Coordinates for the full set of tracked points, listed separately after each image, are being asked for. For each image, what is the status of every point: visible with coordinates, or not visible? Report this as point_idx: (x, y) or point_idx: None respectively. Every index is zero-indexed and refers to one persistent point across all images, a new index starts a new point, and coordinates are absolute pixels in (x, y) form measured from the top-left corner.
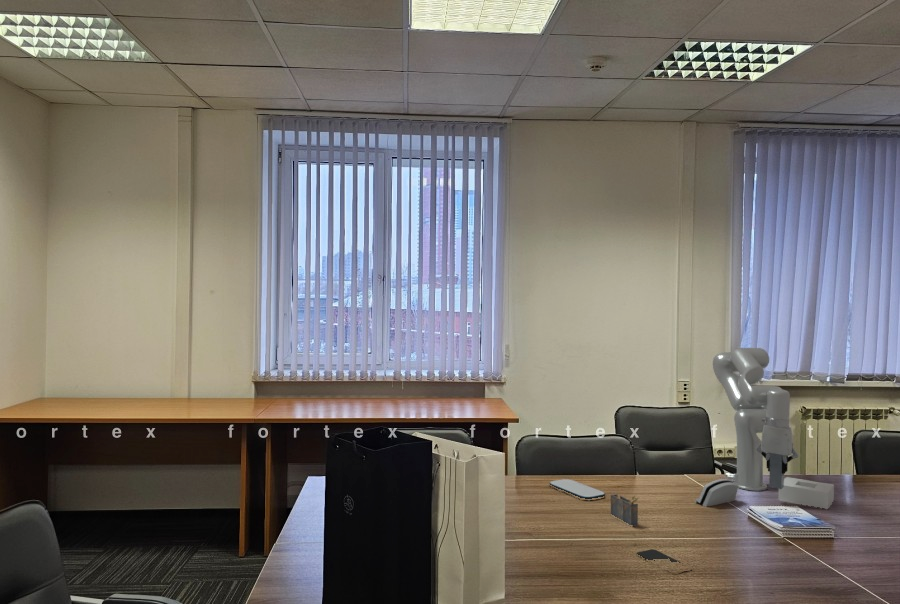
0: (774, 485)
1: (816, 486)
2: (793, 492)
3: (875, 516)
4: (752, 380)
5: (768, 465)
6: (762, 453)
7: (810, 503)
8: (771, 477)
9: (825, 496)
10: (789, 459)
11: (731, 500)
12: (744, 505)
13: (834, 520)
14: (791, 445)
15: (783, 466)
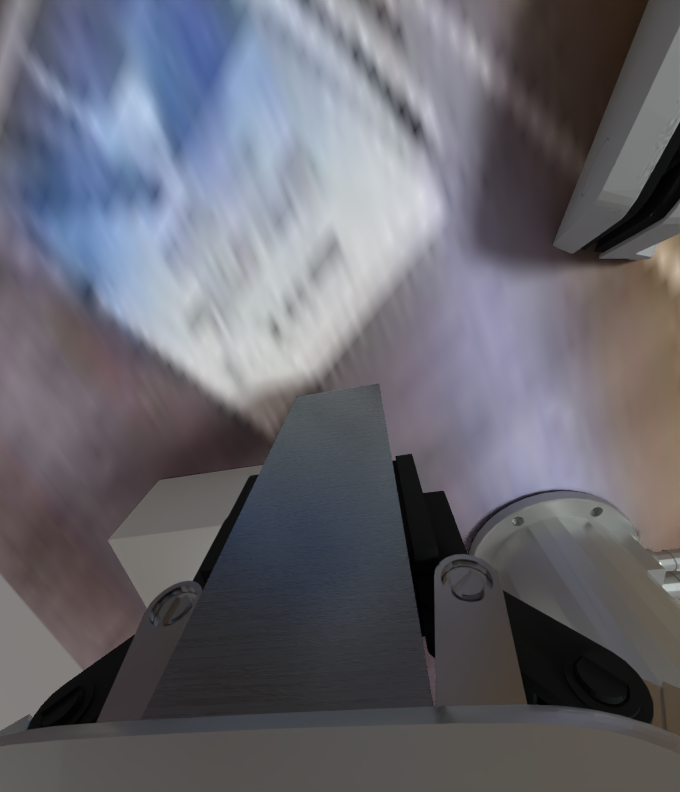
0: (342, 396)
1: None
2: None
3: (18, 529)
4: None
5: (418, 496)
6: (622, 687)
7: (221, 478)
8: (366, 419)
9: (131, 521)
10: (101, 679)
11: (569, 203)
12: (470, 187)
13: (40, 340)
14: None
15: (223, 531)
